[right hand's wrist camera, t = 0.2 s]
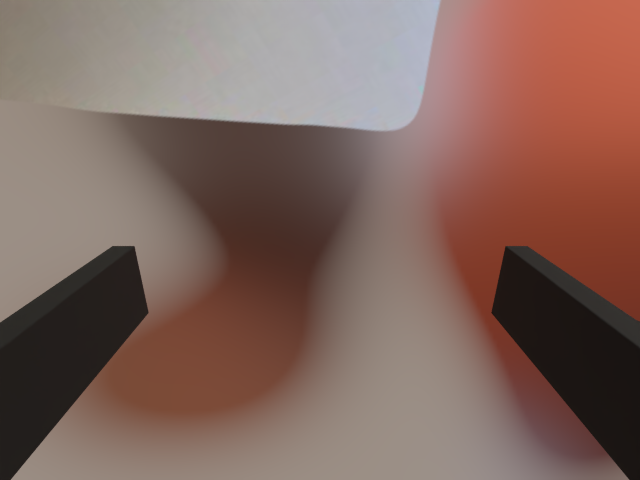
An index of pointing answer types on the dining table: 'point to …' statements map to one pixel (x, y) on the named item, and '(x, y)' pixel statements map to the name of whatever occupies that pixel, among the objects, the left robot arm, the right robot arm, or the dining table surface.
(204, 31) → the dining table surface
